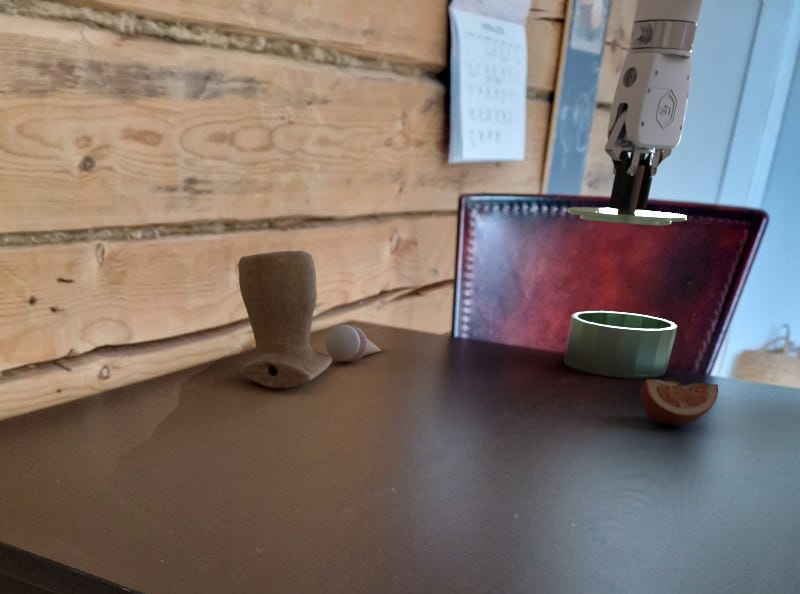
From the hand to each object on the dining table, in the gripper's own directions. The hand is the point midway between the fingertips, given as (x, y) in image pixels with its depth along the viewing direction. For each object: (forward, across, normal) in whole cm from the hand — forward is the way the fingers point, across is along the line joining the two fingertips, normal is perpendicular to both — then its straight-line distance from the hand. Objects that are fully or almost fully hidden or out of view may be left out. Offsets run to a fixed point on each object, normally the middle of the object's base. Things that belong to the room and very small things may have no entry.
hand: (627, 208), depth 115 cm
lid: (+1, 0, 0) cm, 1 cm away
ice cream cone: (+21, -30, +18) cm, 41 cm away
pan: (+21, +3, -1) cm, 21 cm away
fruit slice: (+21, -17, -24) cm, 37 cm away
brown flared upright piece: (+21, -46, +13) cm, 53 cm away
